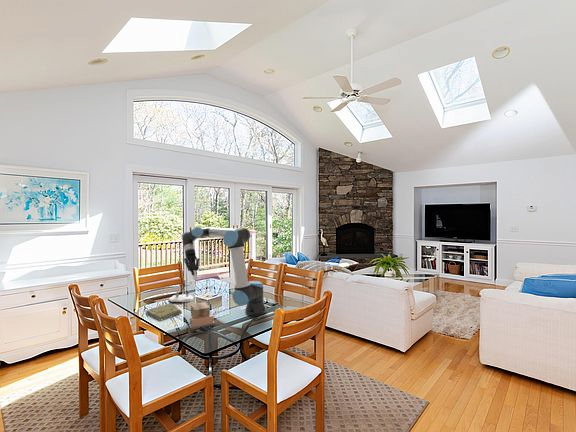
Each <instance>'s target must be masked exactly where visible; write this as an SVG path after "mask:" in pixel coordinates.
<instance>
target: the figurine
mask: <svg viewBox="0 0 576 432" xmlns="http://www.w3.org/2000/svg"><path fill="white" fill-rule="evenodd" d="M179 286H182V288H181V290H184V289H185V287H189V286H190V284H186V280H183V283H180V284H179ZM189 293H190V292H189V291H188V290H185V293H184V291H182V293H181V294H180V293H179V292H178V291H177V292H175V294H174V295H172V296H171V297H169V298H168V300H169V301H170V302H172V303H173V302H176V303H188V302H189V303H190V302H193V300H195V298H194V296H193V295H192V294H189Z"/></svg>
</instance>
